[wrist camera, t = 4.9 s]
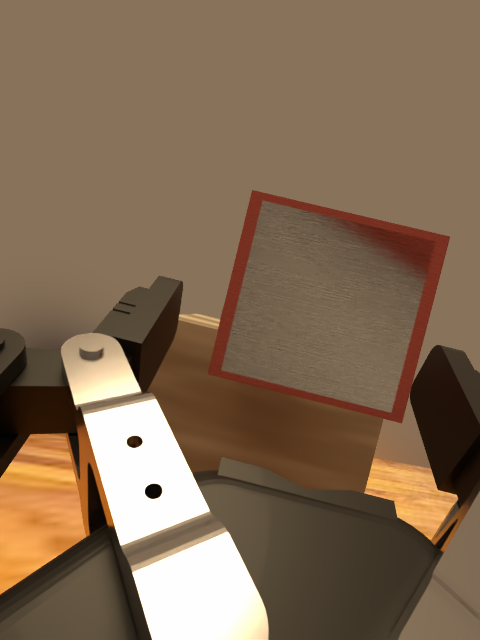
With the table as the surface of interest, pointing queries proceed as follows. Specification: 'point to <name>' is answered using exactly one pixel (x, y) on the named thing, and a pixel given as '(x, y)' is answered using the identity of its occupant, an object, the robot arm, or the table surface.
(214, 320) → the stand
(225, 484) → the robot arm
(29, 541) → the table surface
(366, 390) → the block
